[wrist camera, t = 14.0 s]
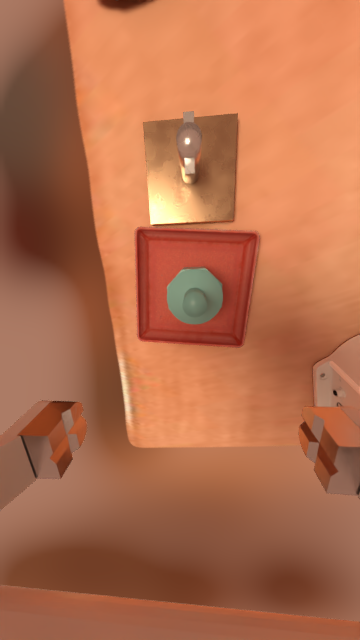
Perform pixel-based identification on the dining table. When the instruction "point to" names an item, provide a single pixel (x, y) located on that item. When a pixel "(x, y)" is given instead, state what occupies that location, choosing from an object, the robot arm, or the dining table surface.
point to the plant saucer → (194, 251)
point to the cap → (194, 295)
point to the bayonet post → (191, 169)
